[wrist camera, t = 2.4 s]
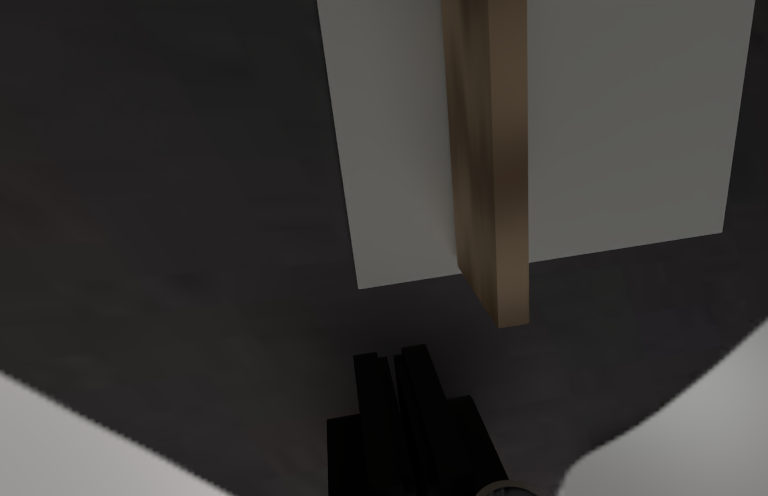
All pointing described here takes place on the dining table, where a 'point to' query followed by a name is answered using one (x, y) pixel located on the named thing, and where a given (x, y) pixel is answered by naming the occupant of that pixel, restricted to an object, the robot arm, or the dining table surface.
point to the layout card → (540, 126)
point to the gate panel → (490, 149)
